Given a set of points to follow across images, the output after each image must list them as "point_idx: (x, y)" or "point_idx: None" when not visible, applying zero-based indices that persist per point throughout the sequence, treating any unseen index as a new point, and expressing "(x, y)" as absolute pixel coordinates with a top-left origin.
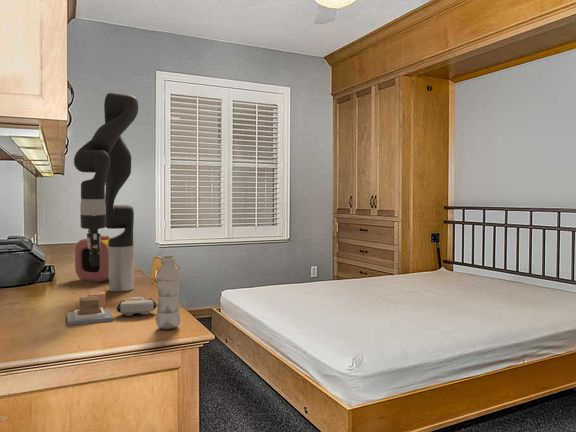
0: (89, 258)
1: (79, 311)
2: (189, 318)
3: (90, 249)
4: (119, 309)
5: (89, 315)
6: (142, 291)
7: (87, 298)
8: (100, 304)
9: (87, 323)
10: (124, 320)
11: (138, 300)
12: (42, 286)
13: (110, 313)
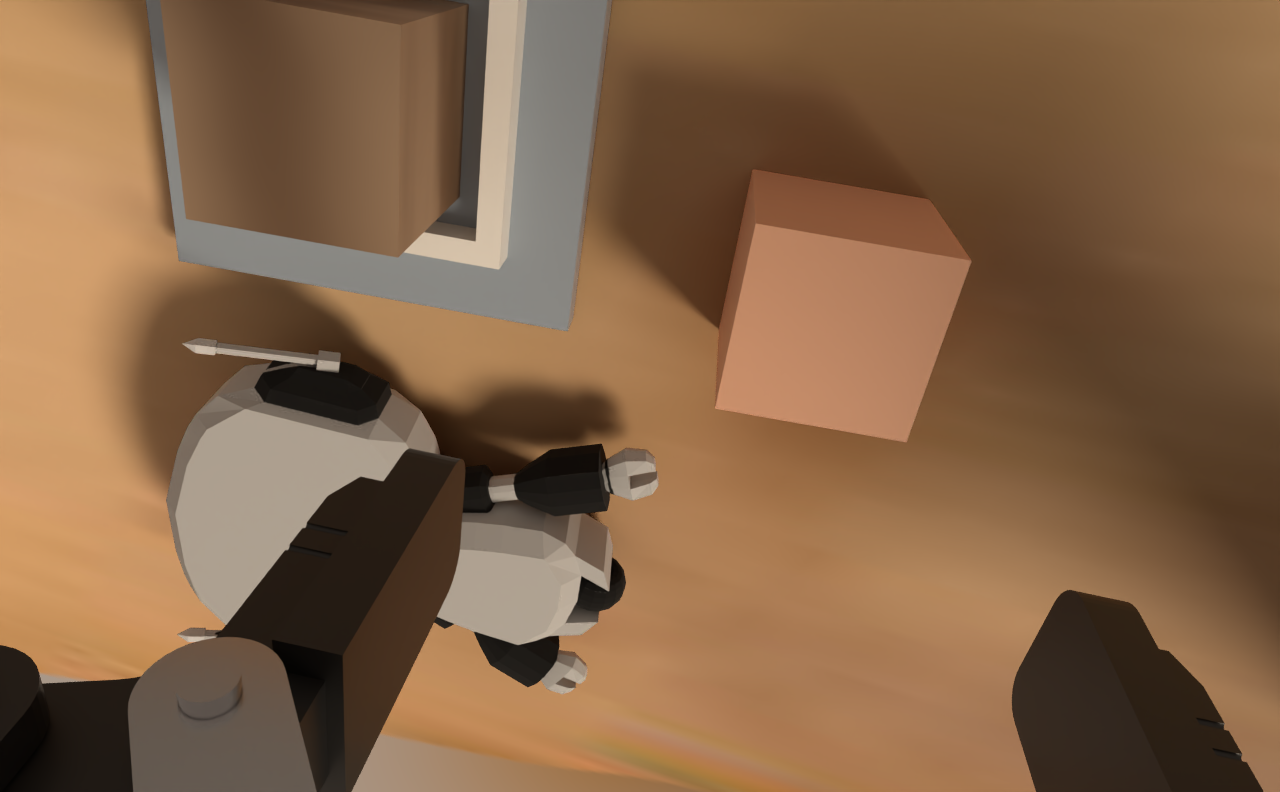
0: (1121, 635)
1: (492, 9)
2: (91, 672)
3: (203, 782)
4: (269, 365)
5: None
6: None
7: (297, 111)
8: (729, 302)
9: None
10: (180, 332)
11: None
12: None
13: (348, 287)
